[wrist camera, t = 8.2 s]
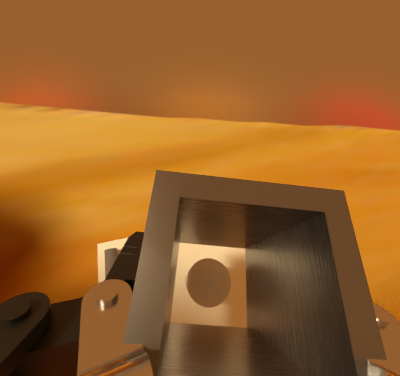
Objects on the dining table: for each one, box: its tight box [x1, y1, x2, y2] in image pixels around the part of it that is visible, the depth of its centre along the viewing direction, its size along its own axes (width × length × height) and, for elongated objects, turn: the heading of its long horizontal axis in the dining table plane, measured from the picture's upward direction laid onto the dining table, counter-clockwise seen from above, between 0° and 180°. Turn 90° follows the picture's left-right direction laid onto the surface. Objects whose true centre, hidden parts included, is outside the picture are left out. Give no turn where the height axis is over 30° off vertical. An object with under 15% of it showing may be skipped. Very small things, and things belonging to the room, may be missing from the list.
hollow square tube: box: [123, 170, 387, 376], centre depth 9 cm, size 6×6×8 cm
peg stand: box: [98, 238, 247, 328], centre depth 19 cm, size 20×12×10 cm, turn 103°
